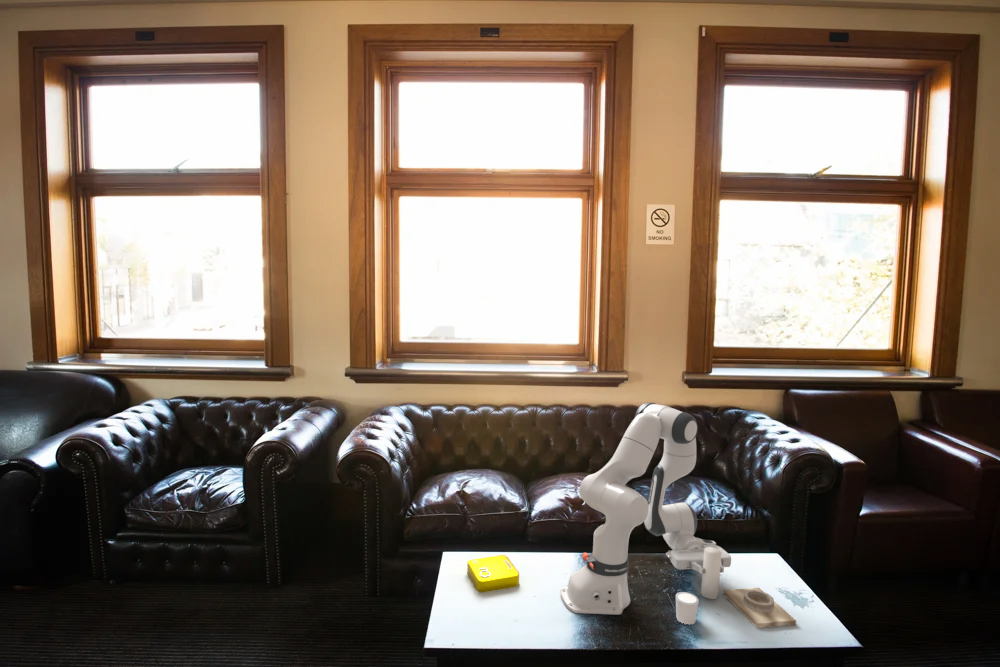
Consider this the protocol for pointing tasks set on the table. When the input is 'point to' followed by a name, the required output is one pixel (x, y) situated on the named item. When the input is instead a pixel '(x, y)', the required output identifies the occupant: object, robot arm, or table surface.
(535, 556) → the table surface
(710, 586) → the paper roll
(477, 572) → the element tile
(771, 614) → the roll holder
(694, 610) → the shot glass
